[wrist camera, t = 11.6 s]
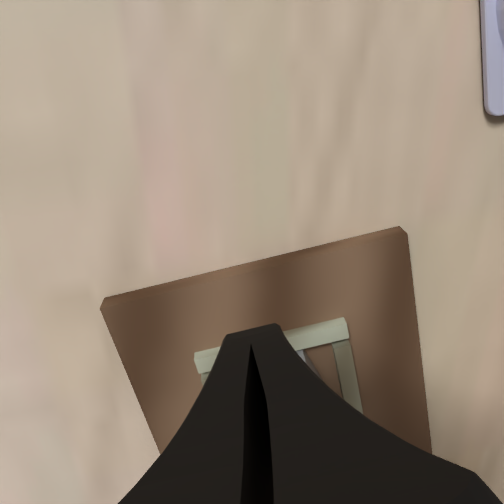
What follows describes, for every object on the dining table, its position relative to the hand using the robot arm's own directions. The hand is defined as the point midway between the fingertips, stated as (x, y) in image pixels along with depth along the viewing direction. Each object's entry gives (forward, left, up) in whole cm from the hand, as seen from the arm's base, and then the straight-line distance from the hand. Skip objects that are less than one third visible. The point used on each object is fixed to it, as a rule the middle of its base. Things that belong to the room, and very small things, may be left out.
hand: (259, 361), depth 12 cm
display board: (0, +9, -10) cm, 14 cm away
